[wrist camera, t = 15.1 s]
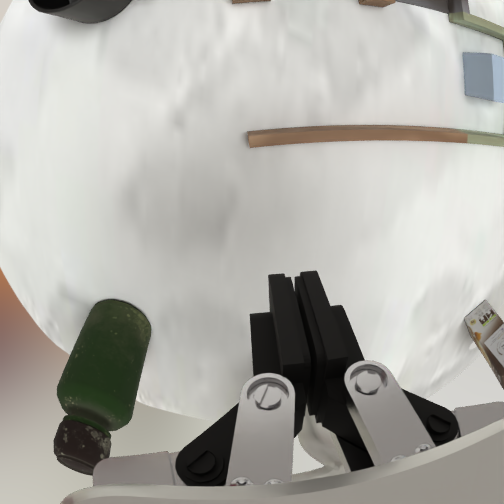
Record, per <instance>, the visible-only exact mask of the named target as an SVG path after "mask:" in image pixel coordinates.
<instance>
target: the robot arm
mask: <svg viewBox="0 0 504 504" xmlns="http://www.w3.org/2000/svg"><path fill="white" fill-rule="evenodd" d="M268 279H269V303H270V312H267V313H254V314H250V325H251V342H252V358H253V373H254V377H252V378H251V379H249V380H248V381H247V382H246V383H245V384H244V386H243V388H242V391H241V395H240V401H239V403H238V404H237V405H236V406H234V407H233V408H232V409H231V410H230V411H229V412H227V413H226V414H225V415H224V416H223V417H221V418H220V419H219V420H218V421H217V422H215V423H214V424H213V425H212V426H211V427H209V428H208V429H207V430H206V431H204V432H203V433H202V434H201V435H200V436H198V437H197V438H196V439H194V440H193V441H192V442H191V443H189V444H188V445H187V446H185V447H184V448H183V449H182V450H181V451H180V452H174V453H169V452H168V451H164V452H157V453H149V454H142V455H133V456H123V457H110V458H106V459H103V460H101V461H100V462H99V463H97V465H96V466H95V468H94V471H93V487H89V488H84V489H81V490H79V491H76V492H73V493H72V494H69V495H68V496H67V497H65V499H64V500H63V501H62V502H61V503H60V504H504V402H493V403H487V404H480V405H474V406H466V407H459V408H455V410H454V411H450V410H448V409H446V408H445V407H442V406H440V405H437V404H435V403H433V402H430V401H428V400H426V399H424V398H422V397H419V396H417V395H415V394H413V393H410V392H408V391H406V390H404V389H402V388H400V386H399V384H398V383H397V381H396V380H395V378H394V376H393V375H392V373H391V372H390V371H389V369H388V368H387V367H386V366H384V365H383V364H381V363H379V362H376V361H369V360H364V357H363V355H362V352H361V350H360V347H359V345H358V342H357V340H356V337H355V335H354V332H353V330H352V327H351V325H350V322H349V320H348V317H347V315H346V312H345V310H344V308H343V306H342V305H336V306H330V304H329V301H328V299H327V296H326V293H325V291H324V288H323V285H322V283H321V280H320V278H319V275H318V273H317V271H307V272H301V273H300V276H297V277H295V291H294V288H293V284H292V280H291V277H286V278H285V274H272V275H268ZM297 434H298V438H299V441H300V444H301V446H302V447H303V449H304V450H305V451H306V452H307V453H308V454H309V455H310V456H311V457H312V458H314V459H316V460H317V461H319V462H320V463H321V464H323V465H324V467H322V468H319V469H315V470H312V471H308V472H303V473H298V474H292V463H293V440H294V438H295V437H296V436H297Z"/></svg>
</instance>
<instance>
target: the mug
mask: <svg viewBox="0 0 504 504" xmlns="http://www.w3.org/2000/svg"><path fill="white" fill-rule="evenodd" d="M130 1H131V0H29V2H30V4H31V6H32V7H33V8H34V9H36V10H37V11H39V12H43V13H47V14H51V15H55V16H59V17H63V18H67V19H71V20H75V21H78V22H82V23H97V22H101V21H104V20H106V19H109V18H111V17H113V16H114V15H116V14H117V13H119V12H120V11H121V10H123V9H124V8H125V7H126V6H127V5H128V4H129V2H130Z"/></svg>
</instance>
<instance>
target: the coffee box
mask: <svg viewBox="0 0 504 504" xmlns="http://www.w3.org/2000/svg"><path fill="white" fill-rule="evenodd" d="M465 322H466V325H467V327H468V330H469V333H470V335H471V337H472V339H473V341H474V342H475V344H476V345H477V347H478V348H479V350H480V351H481V353H482V354H483V356H484V358H485V359H486V361H487V362H488V364H489V366H490V367H491V369H492V371H493V372H494V374H495V375H496V377H497V379H498V381H499V382H500V384H501V386H502V388H503V389H504V322H503V321H502V320H501V318H500V317H499V316H498V314H497V313H496V312H495V311H494V309H493V308H492V307H491V306H490V304H489V303H488V302H487V300H485V301H484V302H483V303H481V304H480V305H479V306H478V307H477V308H476V309H474V310H473V311H472V312H471V313H470V314H469V315H467V316H466V317H465Z"/></svg>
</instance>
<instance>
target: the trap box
mask: <svg viewBox="0 0 504 504" xmlns="http://www.w3.org/2000/svg"><path fill="white" fill-rule="evenodd" d="M260 1H271V0H232V4H235V3H246V2H260ZM395 1H398V2H403V3H408V4H413V5H417V6H421V7H425V8H429V9H433V10H437V11H441V12H444V13H447V14H449V22H452V23H455V24H459V25H462V26H465V27H468V28H471V29H474V30H477V31H480V32H483V33H485V34H488V35H491V36H493V37H496V38H498V39H501V40H503V47H504V28H503V27H501V26H499V25H497V24H494V23H492V22H489V21H487V20H484V19H482V18H479V17H477V16H474V15H471V14H470V11H469V5H468V0H359V4H363V5H371V6H378V7H385V6H387V5H390V4H393V3H395ZM247 133H248V142H249V147H250V148H253V147H263V146H273V145H285V144H298V143H313V142H332V141H364V140H409V141H439V142H457V143H470V144H482V145H493V146H502V147H504V135H502V134H495V133H487V132H479V131H471V130H461V129H450V128H437V127H421V126H397V125H337V126H312V127H295V128H281V129H269V130H259V131H249V132H247Z"/></svg>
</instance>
